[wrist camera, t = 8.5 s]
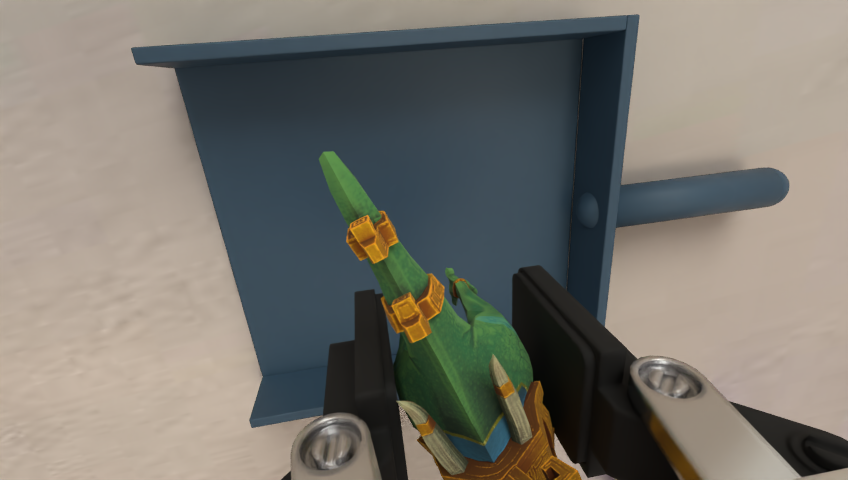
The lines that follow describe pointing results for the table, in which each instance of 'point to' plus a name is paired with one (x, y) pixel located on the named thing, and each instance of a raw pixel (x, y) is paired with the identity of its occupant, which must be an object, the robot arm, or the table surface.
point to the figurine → (452, 358)
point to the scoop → (421, 171)
